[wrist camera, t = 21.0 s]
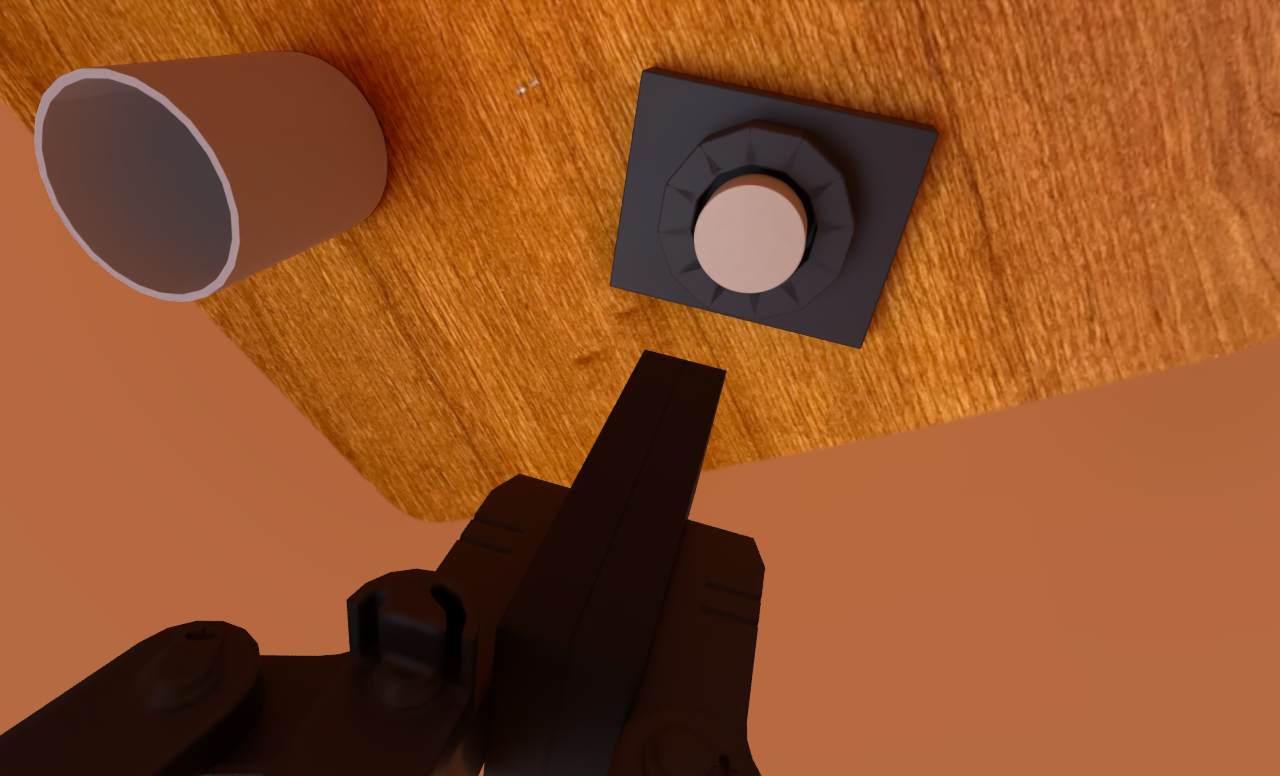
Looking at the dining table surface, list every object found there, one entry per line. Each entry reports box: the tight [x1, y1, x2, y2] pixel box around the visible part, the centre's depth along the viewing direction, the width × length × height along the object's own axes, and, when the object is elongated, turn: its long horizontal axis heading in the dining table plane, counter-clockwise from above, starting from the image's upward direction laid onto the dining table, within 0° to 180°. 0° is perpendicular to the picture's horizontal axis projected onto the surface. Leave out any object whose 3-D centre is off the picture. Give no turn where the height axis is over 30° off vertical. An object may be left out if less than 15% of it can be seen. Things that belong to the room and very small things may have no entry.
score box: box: [610, 67, 939, 349], centre depth 25 cm, size 10×8×3 cm
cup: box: [34, 52, 388, 302], centre depth 26 cm, size 7×10×9 cm
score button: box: [694, 174, 808, 293], centre depth 24 cm, size 4×4×2 cm
